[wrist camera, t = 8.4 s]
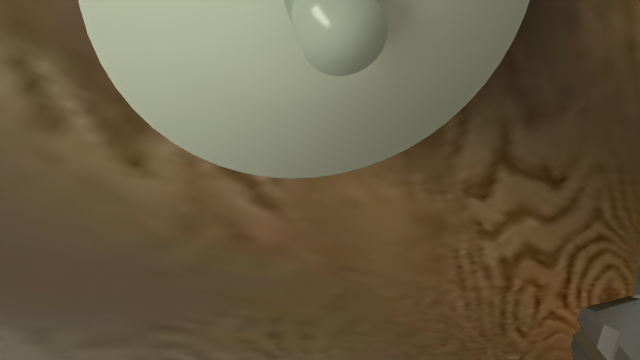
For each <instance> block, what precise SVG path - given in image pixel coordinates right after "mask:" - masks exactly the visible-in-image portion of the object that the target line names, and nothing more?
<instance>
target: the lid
mask: <svg viewBox="0 0 640 360" xmlns="http://www.w3.org/2000/svg"><path fill="white" fill-rule="evenodd" d="M529 1H530V0H79V6H80V9H81V12H82V16H83V19H84V23H85V26H86V29H87V33H88V36H89V38H90V40H91V43H92V45H93V47H94V49H95V52H96V54H97V56H98V58H99V61H100V63H101V64H102V66H103V68H104V69H105V71H106V73H107V74H108V76H109V77H110V79H111V81H112V82H113V84H114V86H115V87H116V88H117V90H118V91H119V92H120V93H121V95H122V96H123V97H124V98H125V100H126V101H127V102H128V103H129V104H130V106H131V107H132V108H133V109H134V110H135V111H136V112H137V113H138V114H139V115H140V116H141V117H142V118H143V119H144V120H145V121H146V122H147V123H148V124H149V125H150V126H152V127H153V128H154V129H155V130H157V131H158V132H159V133H161V134H162V135H163V136H165V137H166V138H167V139H169V140H170V141H171V142H173V143H174V144H176V145H178V146H179V147H181V148H183V149H185V150H186V151H188V152H190V153H192V154H193V155H195V156H197V157H200V158H202V159H204V160H207V161H209V162H211V163H214V164H216V165H219V166H222V167H225V168H229V169H232V170H235V171H239V172H242V173H247V174H253V175H259V176H265V177H276V178H313V177H321V176H328V175H335V174H341V173H344V172H348V171H352V170H356V169H360V168H364V167H366V166H369V165H372V164H375V163H377V162H380V161H383V160H386V159H388V158H390V157H392V156H394V155H396V154H398V153H400V152H402V151H404V150H406V149H408V148H410V147H411V146H413V145H415V144H416V143H418V142H420V141H421V140H423V139H425V138H426V137H428V136H429V135H431V134H432V133H433V132H435V131H436V130H437V129H439V128H440V127H441V126H443V125H444V124H445V123H447V122H448V121H449V120H450V119H451V118H452V117H454V116H455V115H456V114H457V113H458V112H459V111H460V110H461V109H462V108H463V107H464V106H465V105H467V104H468V103H469V101H470V100H471V99H472V98H473V97H474V96H475V95H476V94H477V92H478V91H479V90H480V89H481V88H482V87H483V86H484V85H485V83H486V82H487V81H488V79H489V78H490V76H491V75H492V74H493V72H494V71H495V69H496V68H497V67H498V65H499V64H500V63H501V61H502V59H503V57H504V56H505V54H506V52H507V50H508V49H509V47H510V45H511V43H512V42H513V40H514V38H515V36H516V34H517V31H518V29H519V27H520V25H521V22H522V20H523V18H524V16H525V13H526V10H527V7H528V4H529Z"/></svg>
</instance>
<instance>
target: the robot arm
mask: <svg viewBox="0 0 640 360" xmlns="http://www.w3.org/2000/svg"><path fill="white" fill-rule="evenodd" d="M578 321H579V323H580V324H581V326H582V327H581V328H580V329H579V330H578V331H577V332H576V333H575V334H574V335H573V340H572V345H571V348H572V353H573V359H574V360H640V294H638V295H634V296H627V297H623V298H619V299H616V300H612V301H608V302H604V303H600V304H596V305H592V306H589V307H585V308H584V309H582V310H581V311H580V313H579V317H578Z"/></svg>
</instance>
